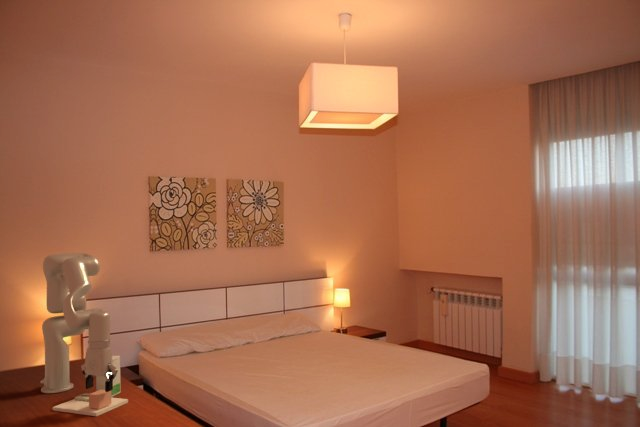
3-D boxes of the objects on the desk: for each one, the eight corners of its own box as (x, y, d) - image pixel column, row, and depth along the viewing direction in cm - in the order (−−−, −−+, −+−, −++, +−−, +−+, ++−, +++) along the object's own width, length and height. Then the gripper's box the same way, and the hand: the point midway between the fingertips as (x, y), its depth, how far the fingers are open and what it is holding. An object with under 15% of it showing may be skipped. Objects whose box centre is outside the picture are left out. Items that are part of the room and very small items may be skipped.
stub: (89, 407, 191) (88, 394, 191) (101, 402, 197) (101, 389, 197) (99, 408, 189) (99, 395, 189) (111, 403, 195) (111, 390, 195)
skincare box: (109, 398, 206) (108, 360, 207) (95, 398, 208) (94, 359, 208) (121, 392, 214) (120, 355, 215) (107, 391, 216) (107, 354, 216)
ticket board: (52, 410, 194) (52, 404, 194) (86, 397, 209) (86, 391, 209) (96, 416, 186) (96, 409, 186) (128, 402, 201) (128, 396, 201)
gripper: (74, 344, 194) (74, 389, 193) (109, 348, 187) (109, 395, 187) (90, 340, 201) (89, 383, 200) (124, 344, 194) (124, 389, 194)
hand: (99, 389), depth 194 cm, fingers open, 9 cm apart
